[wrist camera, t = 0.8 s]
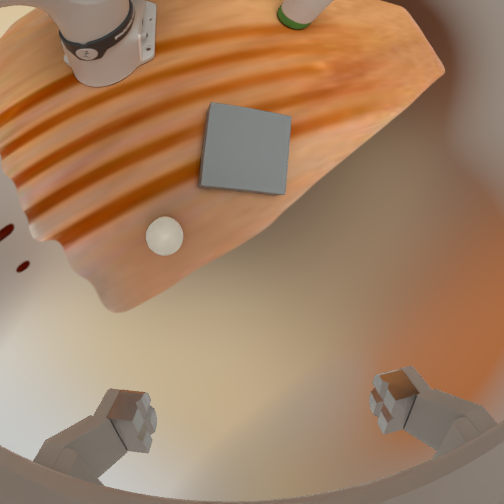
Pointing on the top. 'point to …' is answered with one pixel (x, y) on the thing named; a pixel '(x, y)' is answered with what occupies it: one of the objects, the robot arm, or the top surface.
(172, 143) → the top surface
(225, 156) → the plinth
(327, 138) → the top surface
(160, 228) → the cylinder
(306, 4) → the wine bottle
